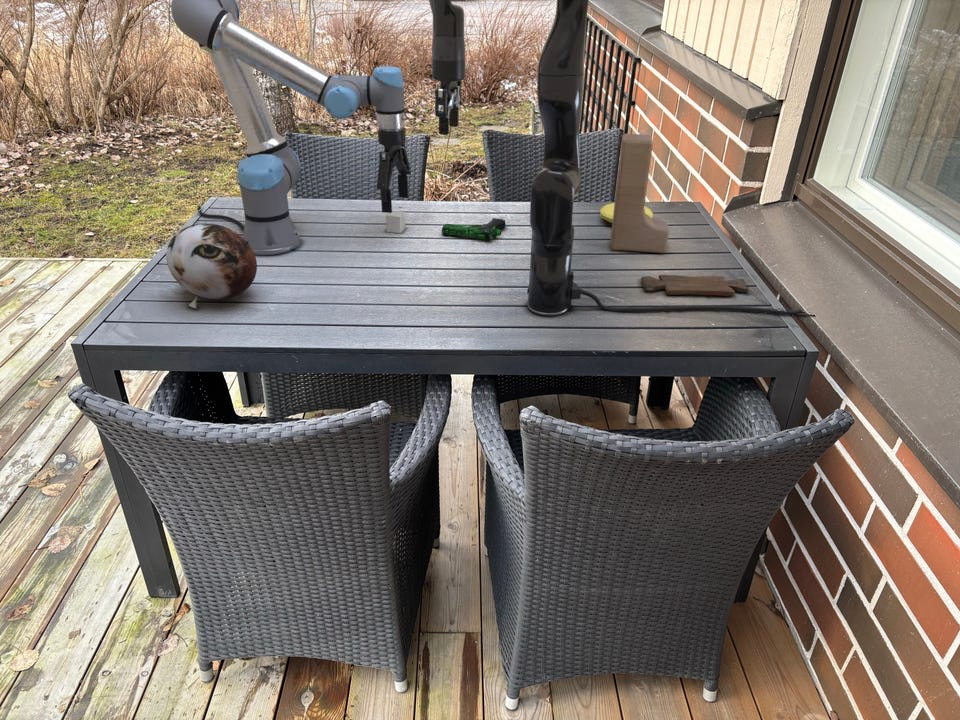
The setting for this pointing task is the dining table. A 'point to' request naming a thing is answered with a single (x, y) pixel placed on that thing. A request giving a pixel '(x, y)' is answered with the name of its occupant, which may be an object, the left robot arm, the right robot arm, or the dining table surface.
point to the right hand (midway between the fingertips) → (449, 130)
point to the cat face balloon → (211, 261)
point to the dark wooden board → (694, 285)
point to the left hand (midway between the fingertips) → (395, 204)
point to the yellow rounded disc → (609, 210)
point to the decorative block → (635, 200)
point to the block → (395, 222)
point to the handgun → (476, 230)
